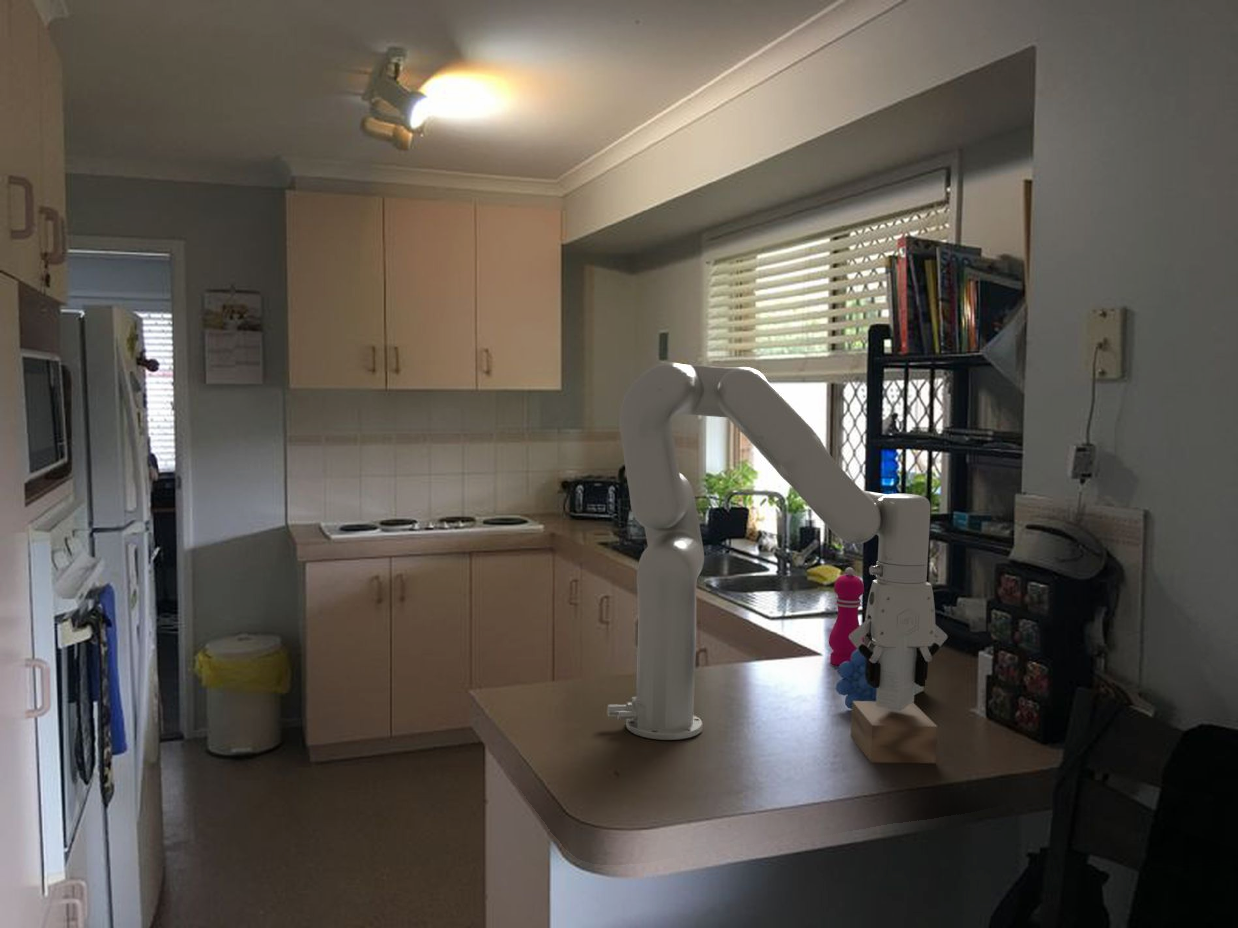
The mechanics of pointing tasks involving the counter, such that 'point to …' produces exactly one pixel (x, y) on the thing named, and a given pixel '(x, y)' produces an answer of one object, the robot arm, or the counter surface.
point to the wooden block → (893, 733)
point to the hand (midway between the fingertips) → (895, 683)
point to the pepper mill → (845, 616)
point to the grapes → (855, 680)
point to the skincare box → (897, 676)
